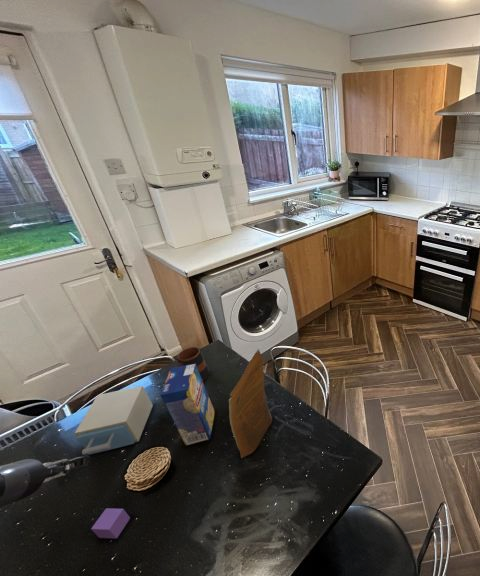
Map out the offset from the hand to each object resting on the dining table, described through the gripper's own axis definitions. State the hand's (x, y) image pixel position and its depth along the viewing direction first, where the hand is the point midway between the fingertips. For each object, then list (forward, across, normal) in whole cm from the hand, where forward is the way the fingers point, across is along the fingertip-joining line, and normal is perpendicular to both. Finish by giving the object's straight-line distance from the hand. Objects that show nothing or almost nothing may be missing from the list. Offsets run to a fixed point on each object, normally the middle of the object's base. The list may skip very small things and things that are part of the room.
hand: (65, 465), depth 76 cm
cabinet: (+25, 0, -6) cm, 26 cm away
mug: (+37, -18, -17) cm, 44 cm away
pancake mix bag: (+14, -42, +6) cm, 45 cm away
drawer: (+22, 0, -3) cm, 22 cm away
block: (+2, -9, +17) cm, 20 cm away
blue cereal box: (+20, -24, 0) cm, 31 cm away
